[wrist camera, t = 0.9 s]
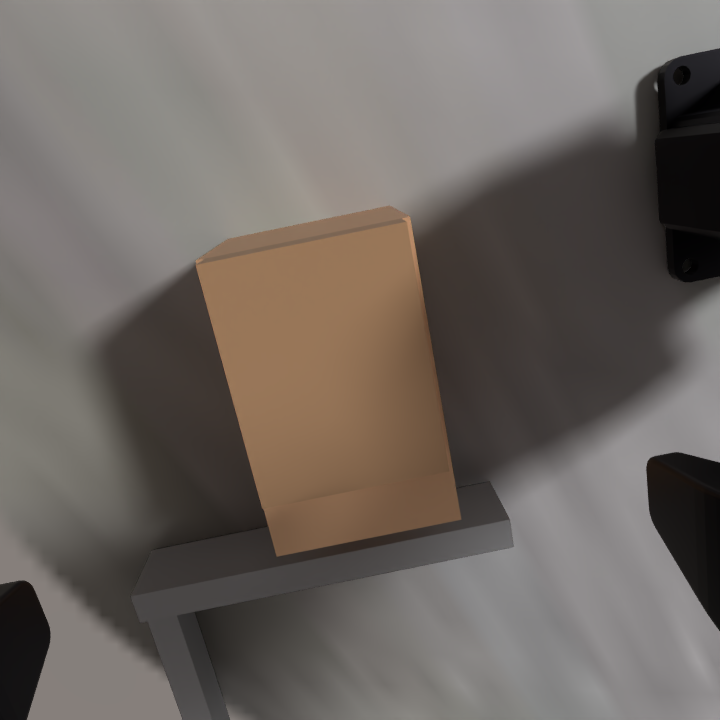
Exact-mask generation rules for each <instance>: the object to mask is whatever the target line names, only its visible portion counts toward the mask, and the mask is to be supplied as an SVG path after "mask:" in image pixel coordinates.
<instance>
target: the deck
mask: <svg viewBox="0 0 720 720" xmlns="http://www.w3.org/2000/svg"><path fill="white" fill-rule="evenodd" d="M456 491H457V497H458V503H459V508H460V514H461V520H457V521H452V522H447V523H442V524H437V525H432V526H427V527H422V528H417V529H412V530H407V531H402V532H397V533H392V534H387V535H382V536H377V537H372V538H367V539H362V540H358V541H353V542H348V543H343V544H338V545H333V546H328V547H323V548H318V549H313V550H308V551H303V552H298V553H293V554H288V555H283V556H278V557H277V556H276V553H275V549H274V545H273V542H272V538H271V534H270V531H269V527H264V528H259V529H254V530H249V531H244V532H239V533H234V534H230V535H225V536H220V537H215V538H210V539H205V540H200V541H195V542H190V543H185V544H180V545H175V546H171V547H166V548H161V549H156V550H152V551H151V553H150V555H149V557H148V560H147V562H146V564H145V566H144V568H143V570H142V572H141V575H140V577H139V579H138V581H137V583H136V585H135V587H134V590H133V592H132V594H131V596H130V597H131V600H132V603H133V605H134V608H135V611H136V614H137V616H138V619H139V622H140V623H142V622H148V624H149V627H150V630H151V633H152V636H153V638H154V641H155V644H156V647H157V650H158V652H159V655H160V658H161V661H162V664H163V666H164V669H165V672H166V675H167V677H168V680H169V683H170V686H171V689H172V691H173V694H174V697H175V700H176V703H177V705H178V708H179V711H180V714H181V716H182V719H183V720H230V718H229V715H228V712H227V709H226V706H225V703H224V700H223V697H222V694H221V691H220V688H219V685H218V681H217V678H216V675H215V672H214V669H213V666H212V663H211V660H210V657H209V654H208V651H207V648H206V645H205V642H204V639H203V636H202V633H201V630H200V627H199V624H198V621H197V618H196V615H195V612H196V611H201V610H206V609H211V608H216V607H221V606H226V605H231V604H236V603H241V602H246V601H250V600H255V599H260V598H265V597H270V596H275V595H280V594H285V593H290V592H295V591H300V590H305V589H310V588H315V587H320V586H325V585H330V584H334V583H339V582H344V581H349V580H354V579H359V578H364V577H369V576H374V575H379V574H384V573H389V572H394V571H399V570H404V569H409V568H414V567H418V566H423V565H428V564H433V563H438V562H443V561H448V560H453V559H458V558H463V557H468V556H473V555H478V554H483V553H488V552H493V551H498V550H502V549H507V548H512V547H514V544H513V537H512V530H511V523H510V519H509V517H508V515H507V513H506V511H505V509H504V507H503V505H502V503H501V502H500V500H499V498H498V496H497V494H496V492H495V490H494V488H493V486H492V485H491V483H490V482H485V483H480V484H475V485H470V486H465V487H461V488H456Z"/></svg>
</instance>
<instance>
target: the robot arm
mask: <svg viewBox="0 0 720 720" xmlns="http://www.w3.org/2000/svg"><path fill="white" fill-rule="evenodd" d="M677 68H679V69H680V70H681V71H682V73H683V80H682V82H681V83H680V85H677V84H676V83H675V82H674V79H673V74H674V71H675V70H676V69H677ZM657 83H658V101H659V119H660V134H659V135H658V137H657V138H656V140H655V150H656V167H657V184H658V202H659V219H660V222H661V223H662V224H663V225H664V226H665V228H666V246H667V264H668V271H669V274H670V275H671V276H672V277H673V278H675V279H677V280H680V281H683V282H694V281H699V280H704V279H709V278H713V277H718V276H720V48H719V49H714V50H710V51H705V52H700V53H695V54H690V55H686V56H681V57H678V58H675V59H672V60H670V61H668V62H666V63H665V64H664V65H663V66H662V67H661V69H660V71H659V73H658V80H657ZM689 258H690V260H691V267H690V268H689V270H688V271H686V272H683V269H682V266H683V263H684V262H685V260H687V259H689ZM646 471H647V486H648V501H649V511H650V516H651V519H652V522H653V524H654V526H655V528H656V529H657V531H658V533H659V534H660V536H661V538H662V539H663V541H664V543H665V545H666V546H667V548H668V550H669V551H670V553H671V555H672V556H673V558H674V560H675V561H676V563H677V565H678V566H679V568H680V570H681V571H682V573H683V575H684V576H685V578H686V580H687V581H688V583H689V585H690V586H691V588H692V590H693V591H694V593H695V595H696V596H697V598H698V600H699V601H700V603H701V604H702V606H703V608H704V609H705V611H706V612H707V614H708V615H709V617H710V618H711V620H712V621H713V622H714V624H715V625H716V627H717V628H718V629H719V631H720V463H719V462H715V461H711V460H707V459H703V458H700V457H696V456H692V455H688V454H684V453H679V452H674V453H669V454H664V455H658V456H654V457H651V458H650V459H649V460H648V462H647V467H646ZM49 644H50V627H49V624H48V622H47V619H46V617H45V614H44V612H43V609H42V607H41V605H40V602H39V600H38V597H37V595H36V593H35V590H34V588H33V586H32V585H31V584H30V583H29V582H27V581H16V582H10V583H5V584H0V720H27V717H28V713H29V710H30V707H31V703H32V701H33V697H34V694H35V690H36V687H37V684H38V681H39V678H40V673H41V671H42V668H43V664H44V661H45V657H46V654H47V651H48V648H49Z"/></svg>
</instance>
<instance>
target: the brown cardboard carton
mask: <svg viewBox="0 0 720 720" xmlns="http://www.w3.org/2000/svg"><path fill="white" fill-rule="evenodd" d="M196 263H197V264H196V269H197V272H198V276H199V280H200V283H201V287H202V290H203V294H204V298H205V301H206V305H207V309H208V312H209V316H210V320H211V323H212V327H213V331H214V334H215V338H216V342H217V345H218V349H219V353H220V356H221V360H222V363H223V367H224V371H225V374H226V378H227V382H228V385H229V389H230V393H231V396H232V400H233V404H234V407H235V411H236V415H237V418H238V422H239V426H240V429H241V433H242V437H243V440H244V444H245V447H246V451H247V455H248V458H249V462H250V466H251V469H252V473H253V477H254V480H255V484H256V488H257V491H258V495H259V499H260V502H261V506H262V509H264V512H265V516H266V520H267V523H268V527H269V531H270V534H271V538H272V542H273V545H274V549H275V553H276V556H277V557H278V556H283V555H288V554H293V553H298V552H303V551H308V550H313V549H318V548H323V547H328V546H333V545H338V544H343V543H348V542H353V541H358V540H362V539H367V538H372V537H377V536H382V535H387V534H392V533H397V532H402V531H407V530H412V529H417V528H422V527H427V526H432V525H437V524H442V523H447V522H452V521H457V520H461V514H460V508H459V503H458V497H457V491H456V485H455V479H454V473H453V467H452V461H451V455H450V449H449V444H448V438H447V432H446V426H445V420H444V414H443V408H442V402H441V396H440V390H439V385H438V379H437V373H436V367H435V361H434V355H433V349H432V343H431V337H430V331H429V326H428V320H427V314H426V308H425V302H424V296H423V290H422V284H421V278H420V272H419V266H418V261H417V255H416V249H415V243H414V237H413V231H412V225H411V219H410V216H408V215H406V214H404V213H402V212H401V211H399V210H397V209H395V208H393V207H391V206H386V207H381V208H376V209H371V210H366V211H361V212H356V213H352V214H347V215H342V216H337V217H332V218H327V219H322V220H317V221H313V222H308V223H303V224H298V225H293V226H288V227H283V228H279V229H274V230H269V231H264V232H259V233H254V234H249V235H244V236H240V237H235V238H230V239H227V240H226V241H224V242H223V243H221V244H220V245H218V246H217V247H215V248H214V249H212V250H211V251H209V252H208V253H206V254H205V255H203V256H202V257H200V258H199V259H197V260H196Z"/></svg>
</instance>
